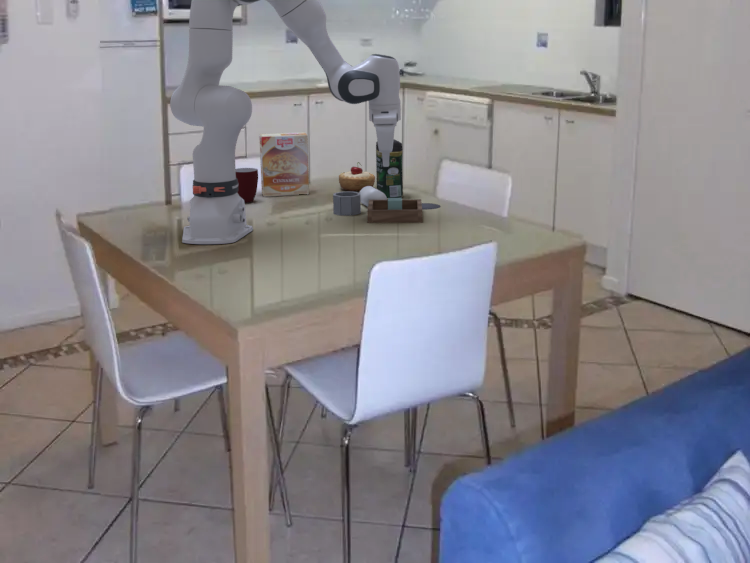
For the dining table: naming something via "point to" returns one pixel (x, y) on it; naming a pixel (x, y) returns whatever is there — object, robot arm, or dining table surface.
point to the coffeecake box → (284, 164)
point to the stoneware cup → (347, 203)
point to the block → (394, 203)
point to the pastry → (356, 179)
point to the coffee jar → (390, 172)
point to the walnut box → (395, 212)
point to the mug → (247, 183)
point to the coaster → (429, 206)
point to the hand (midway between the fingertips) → (386, 163)
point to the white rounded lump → (371, 195)
